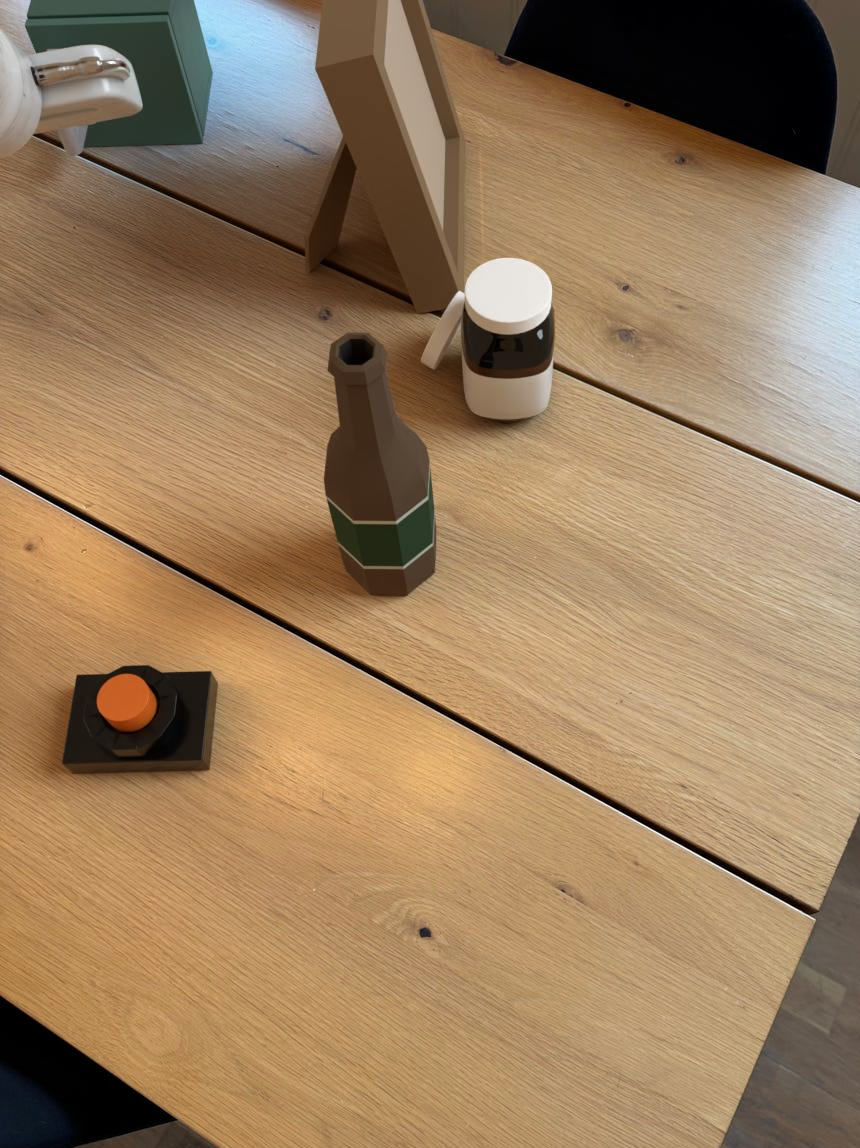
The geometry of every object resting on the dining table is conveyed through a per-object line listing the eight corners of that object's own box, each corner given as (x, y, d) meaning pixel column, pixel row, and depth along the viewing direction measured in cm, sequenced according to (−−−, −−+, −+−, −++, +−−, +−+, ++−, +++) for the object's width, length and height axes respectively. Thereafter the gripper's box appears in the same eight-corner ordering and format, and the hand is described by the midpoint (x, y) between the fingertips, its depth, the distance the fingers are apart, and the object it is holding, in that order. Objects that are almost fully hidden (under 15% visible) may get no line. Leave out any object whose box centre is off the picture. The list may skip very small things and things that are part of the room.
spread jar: (553, 434, 90) (560, 337, 79) (420, 436, 90) (410, 340, 79) (548, 327, 95) (554, 224, 85) (423, 329, 95) (413, 226, 85)
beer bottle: (421, 506, 86) (395, 287, 65) (454, 582, 83) (439, 377, 62) (331, 536, 85) (274, 322, 64) (361, 614, 82) (312, 417, 61)
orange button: (103, 732, 74) (93, 721, 72) (110, 686, 76) (100, 674, 74) (154, 731, 74) (145, 720, 72) (160, 684, 76) (151, 672, 74)
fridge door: (196, 183, 104) (159, 62, 93) (65, 187, 104) (12, 67, 93) (203, 137, 107) (168, 14, 96) (76, 140, 107) (26, 19, 96)
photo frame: (465, 150, 106) (456, -123, 83) (463, 313, 96) (453, 53, 74) (318, 152, 106) (270, -120, 84) (301, 315, 96) (242, 56, 74)
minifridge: (204, 136, 107) (168, 11, 96) (77, 140, 107) (25, 15, 96) (213, 73, 112) (180, -54, 100) (91, 76, 112) (44, -50, 100)
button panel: (72, 774, 76) (51, 754, 73) (86, 686, 80) (67, 663, 76) (209, 770, 76) (195, 750, 73) (218, 682, 80) (205, 659, 76)
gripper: (107, 6, 70) (143, 57, 83) (-204, 62, 69) (-117, 106, 82) (134, 108, 72) (165, 143, 85) (-168, 165, 71) (-89, 191, 84)
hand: (25, 125), depth 84 cm, fingers open, 8 cm apart
